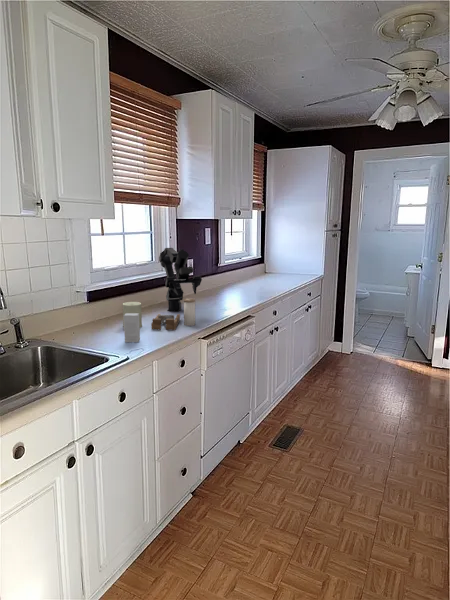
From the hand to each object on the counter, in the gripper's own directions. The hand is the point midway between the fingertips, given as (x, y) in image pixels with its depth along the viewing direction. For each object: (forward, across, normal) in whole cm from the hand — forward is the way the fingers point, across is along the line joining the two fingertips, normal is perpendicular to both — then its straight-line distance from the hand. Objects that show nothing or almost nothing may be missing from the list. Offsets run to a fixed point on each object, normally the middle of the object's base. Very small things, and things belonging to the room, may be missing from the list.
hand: (186, 294), depth 216 cm
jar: (+16, -1, +5) cm, 16 cm away
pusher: (+15, -13, +5) cm, 21 cm away
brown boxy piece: (+13, -12, +7) cm, 19 cm away
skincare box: (+30, -33, -9) cm, 45 cm away
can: (+12, -29, +8) cm, 32 cm away
